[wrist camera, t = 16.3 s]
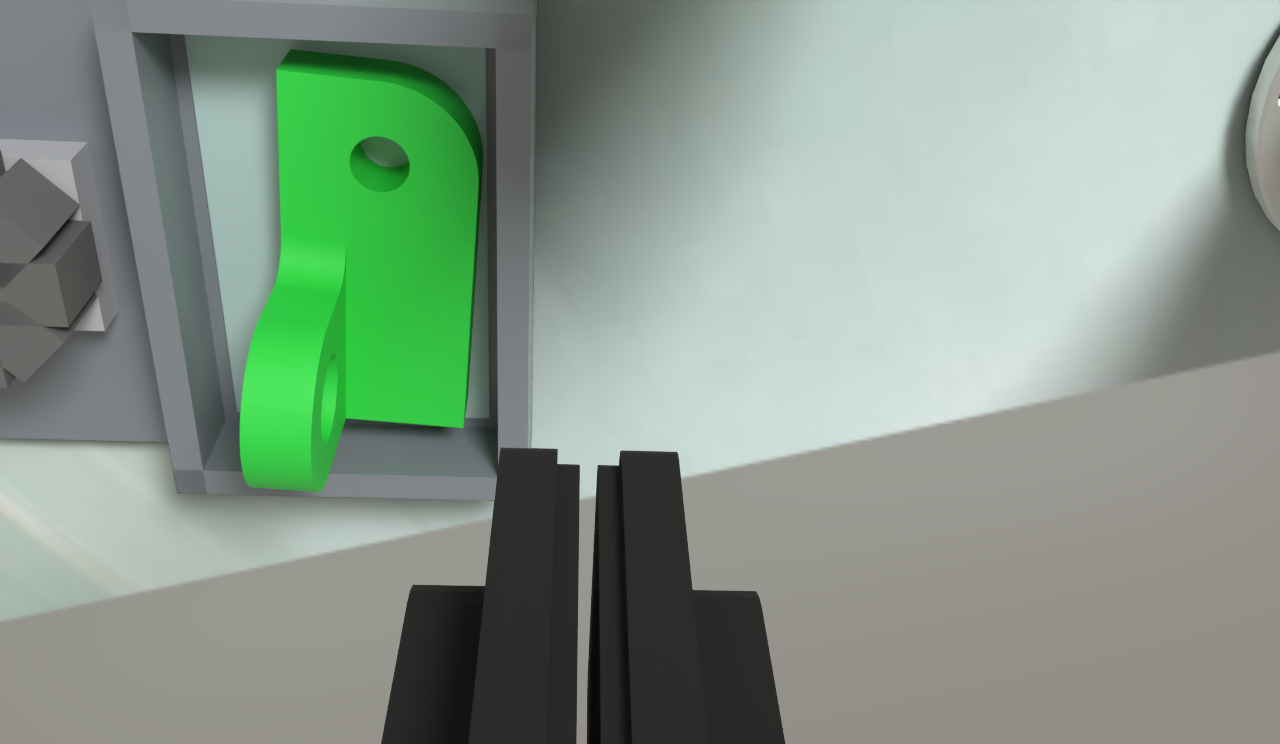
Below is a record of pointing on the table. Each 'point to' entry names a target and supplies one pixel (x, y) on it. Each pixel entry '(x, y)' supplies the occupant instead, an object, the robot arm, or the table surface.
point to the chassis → (251, 220)
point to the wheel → (40, 270)
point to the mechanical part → (363, 265)
